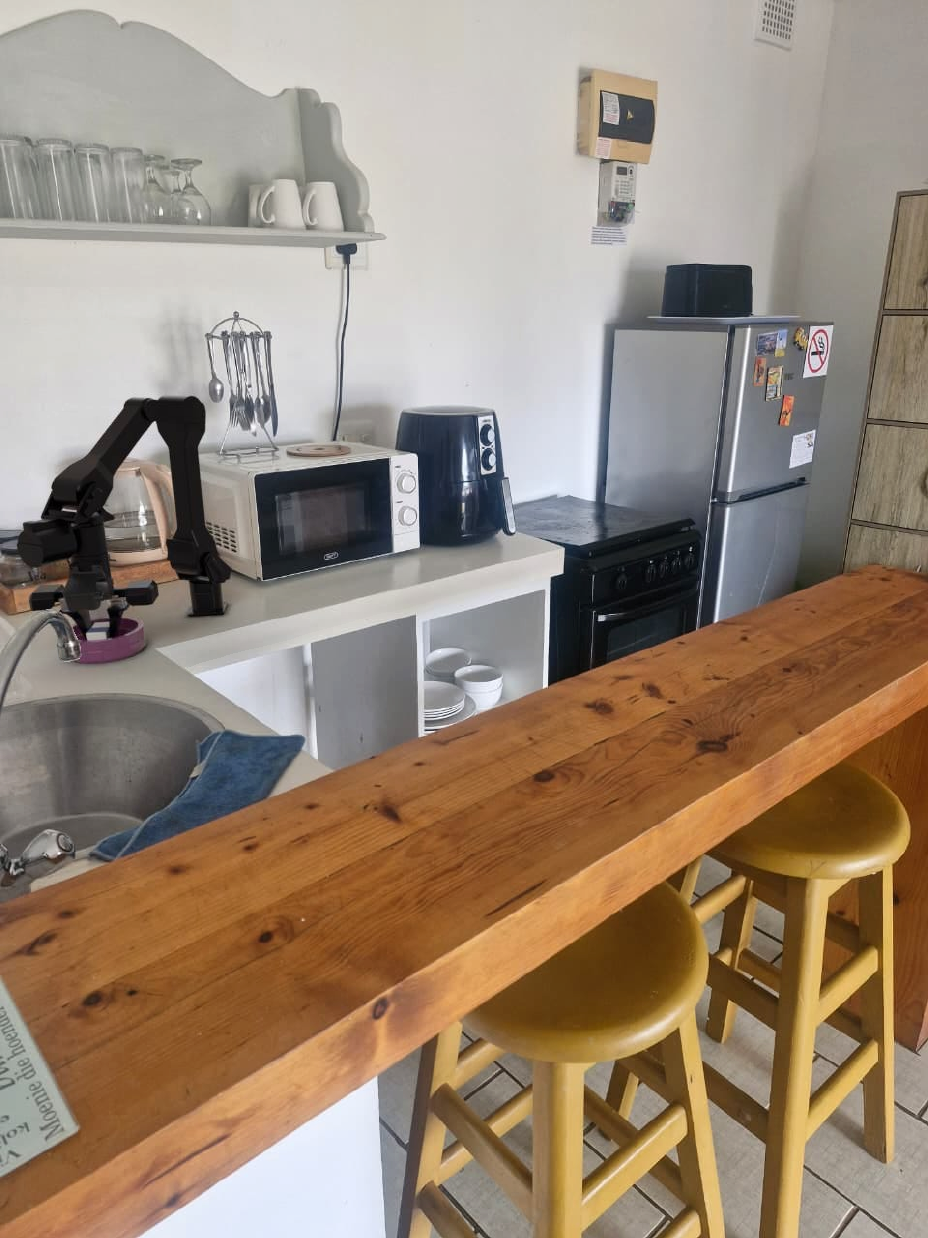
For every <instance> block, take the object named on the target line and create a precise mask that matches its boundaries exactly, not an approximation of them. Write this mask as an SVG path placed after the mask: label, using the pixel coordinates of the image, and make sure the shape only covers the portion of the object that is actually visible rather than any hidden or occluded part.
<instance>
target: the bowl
mask: <svg viewBox="0 0 928 1238" xmlns="http://www.w3.org/2000/svg"><path fill="white" fill-rule="evenodd" d="M99 622H109V617H102V618H96V619H91V624H92V626H93V625H94V623H99ZM72 626H73V629H74V632H75V634H76V636H77V638H78V641H79V643H80V646H81V654H82V655H81V657H80V659H78V660H75V661H73V662H74V663H78V664H84V665H86V664H87V665H99V664H107V663H114V662H119V661H122V660H125V659H128V658H131V657H133V656H135V655H137V654H139V653H140V652H141V651H142V650H143V648H144V647H146V645H147V639H146V632H145V631H146V630H145V623H144V622H143V621H142V620H141V619H140V618H136V617H132V616H123V615H122V618H121V622H120V626H119V630H118V634H117V637H114V638H108V639H102V640H86V639H85V637H84V635H83V634H82V632H81V630H80V629H79V627H78V625H77V624H75V623H73V624H72Z"/></svg>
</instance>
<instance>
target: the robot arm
mask: <svg viewBox="0 0 928 1238" xmlns="http://www.w3.org/2000/svg"><path fill="white" fill-rule="evenodd" d="M124 401H125V402H124V403H123V408H122V409H121V410H120V411H119V413H118V414H117V416H116V417H115V418H114V420H113V421H112V422H111V424H110V425H109V426H108V427H107V429H106V430H105V431H104V432H103V434H101V436H100V438H98V440H97V441H96V443H95V444H94V445H93V446H92V448H91V449H90V450H89V452H88V453H87V454H86V455H85V456H84V457H82V458H80V459H79V460H77V461H75V462H72V463H71V464H68V466H67V467H65V468H64V470H62V471H61V472H60V473H59V474H58V475H57V476H55V478H54V479H53V481H52V483H51V486H50V488H51V491H50V494H49V496H48V498H47V501H46V503H45V505H44V507H43V510H42V511H41V515H40V519H39V520H29V521H24V522H23V523H22V528H23V530H22V531H21V532H20V533H19V535H18V537H17V542H16V550H17V552H18V555H19V557H20V559H21V560H22V562H23V563H24V564H25V565H26V566H28V567H29V568H32V569H38V568H41V567H44V566H48V565H52V564H56V563H59V562H62V561H66V560H69V563H68V572H69V573H68V578H67V580H66V582H65V585H63V583H58V584H57V583H55V584H53V583H52V584H40V585H38V587H36V588H35V589H34V590H33V591H32V592H31V593H30V594H29V596H28V604H29V610H30V611H31V612H38V611H42V610H43V611H47V610H46V609H51V610H52V609H53V608H54V606H55V605H56V603H59V607H60V609H59V610H58V612H59V613H60V612H61V613H62V614H61V615H66V616H67V617H69V618H71V619H72V620H73V621H74V624H75V623H76V624H77V625H78V627H79V629H80V630H81V632H82V634H83V635H84V637H85V639H86V640H87V636H86V632H87V631H88V630H89V629H90V628H91V627H92V624H91V618H90V613H89V610H90V611H91V610H96V609H98V608H99V607H100V605H101V601H104V600H107V601H109V603H110V604H109V605H110V606H109V607H108V609H107V612H108V615H109V628H110V638H114V637H117V634H118V630H119V626H120V622H121V618H122V616H123V615H124V612H125V611H127V610H128V609H129V608H130V607H141V606H151V605H154V603H155V601H156V600H157V599H158V597H159V595H160V594H159V586H158V583H157V582H156V581H155V580H154V579H141V580H131V581H130V582H129V584H128V585H127V586H123V587H115V586H114V585H115V582H114V581H115V580H114V578H113V577H112V570H111V569H112V568H111V562H110V561H111V553H109V549H108V543H107V537H106V527H105V523H107V522H111V521H114V520H115V519H116V516H115V515H114V514H113V513H110V512H109V511H107V510H106V508H105V505H106V503H107V501H108V499H109V497H110V495H111V494H112V491H113V490H114V483H115V482H114V479H115V478H114V477H115V475H116V473H117V472H118V470H119V468H120V467H121V466H122V464H123V463H124V462H125V460H126V459H127V458H128V457H129V455H130V454H131V452H132V451H133V450H134V449H135V448H136V446H137V444H138V443H139V442H140V441H141V439H142V438H143V436H144V435H145V434H146V432H147V431H148V430H149V428H150V427H151V425H152V424H153V423H154V422H155V424H156V429H157V432H158V435H160V437H161V439H162V440H163V441H164V443H165V444H166V446H167V449H168V454H169V455H168V456H169V464H170V465H169V466H170V475H171V484H172V494H173V501H174V513H175V522H176V523H175V524H176V529H175V531H174V533H173V535H172V537H171V538H169V537H168V538H166V540H165V546H166V549H167V556H166V561H169V564H170V567H171V569H172V570H174V572H175V575H176V576H177V578H178V580H179V581H187V582H188V587H189V593H190V603H191V607H190V608H189V611H188V612H187V616H188V617H202V616H204V617H205V616H206V617H207V616H219V615H220V616H221V615H224V614H225V613H226V610H227V607H228V602H227V601H224V600H223V589H222V584H224V583H226V582H227V581H229V580H230V579H231V575H232V567H231V566H230V565H229V564H228V563H226V561H225V560H223V559H222V558H221V557H220V556H219V552H218V548H217V547H218V546H217V544H216V540H215V539H214V537H213V536H212V534H211V533H210V531H209V530H208V528H207V526H206V517H205V508H204V507H205V506H204V498H203V496H204V495H203V487H202V486H203V485H202V476H201V465H200V453H199V446H200V444H201V441H202V439H203V437H204V435H205V433H206V422H207V421H206V420H207V412H206V407H205V404H204V403H203V402H202V401H201V400H200V399H199V397H196V396H195V395H183V394H182V395H179V394H164V395H161V396H160V397H159V398H158V399H155V398H153V397H152V398H151V397H138V396H137V397H136V396H132V397H130V398H128V399H126V400H124Z"/></svg>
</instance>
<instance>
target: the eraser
mask: <svg viewBox="0 0 928 1238" xmlns="http://www.w3.org/2000/svg"><path fill="white" fill-rule="evenodd" d="M86 636H87V640H102V639H108V638H110V628H109V622H99V623H94V625H93V626H92V627H91V628H90V629H89V630H88V631H87V632H86Z"/></svg>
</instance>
